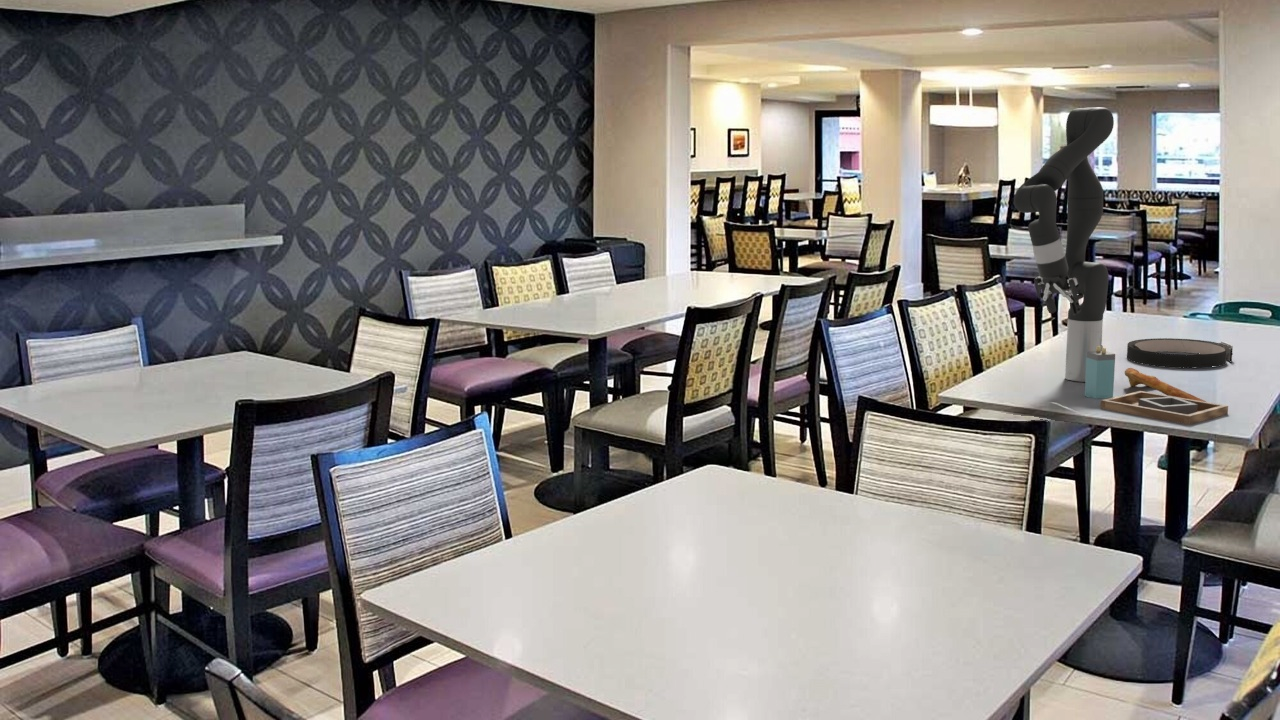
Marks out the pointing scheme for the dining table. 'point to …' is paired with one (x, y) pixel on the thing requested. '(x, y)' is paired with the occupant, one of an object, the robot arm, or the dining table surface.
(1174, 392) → the bone
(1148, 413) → the walled box
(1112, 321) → the dining table surface
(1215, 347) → the belt
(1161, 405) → the socket
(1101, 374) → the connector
